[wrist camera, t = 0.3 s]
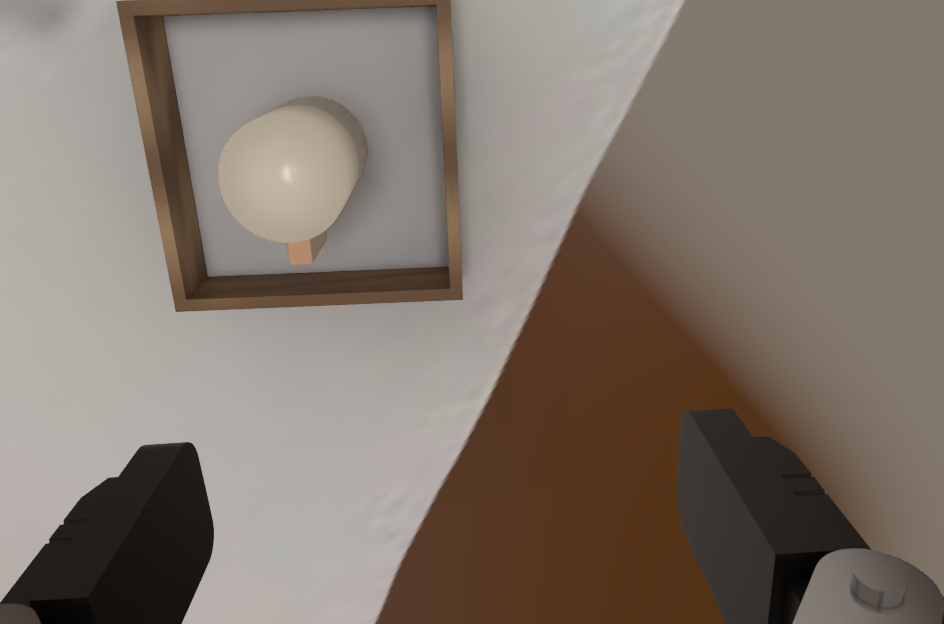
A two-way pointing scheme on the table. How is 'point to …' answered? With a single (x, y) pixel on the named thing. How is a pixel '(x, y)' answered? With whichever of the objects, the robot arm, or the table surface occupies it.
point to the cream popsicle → (293, 172)
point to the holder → (175, 186)
